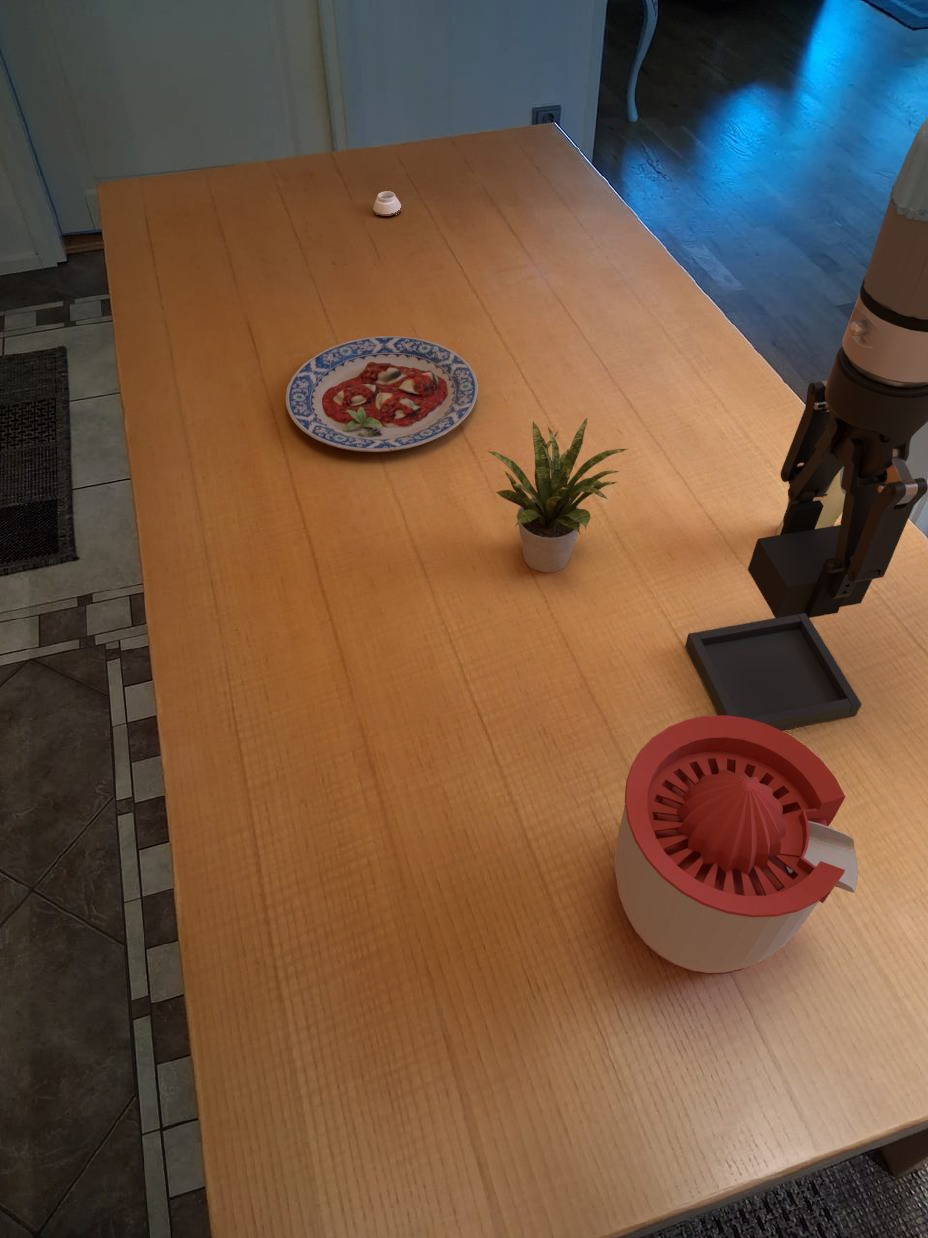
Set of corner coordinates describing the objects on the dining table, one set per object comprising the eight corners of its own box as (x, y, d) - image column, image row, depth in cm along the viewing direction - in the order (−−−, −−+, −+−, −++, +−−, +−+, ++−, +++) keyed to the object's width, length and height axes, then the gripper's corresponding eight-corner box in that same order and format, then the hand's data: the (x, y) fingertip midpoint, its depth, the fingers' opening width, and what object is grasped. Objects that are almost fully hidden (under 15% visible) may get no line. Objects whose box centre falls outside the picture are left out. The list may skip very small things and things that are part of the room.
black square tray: (801, 624, 95) (806, 612, 93) (855, 716, 87) (862, 704, 86) (684, 645, 93) (688, 633, 92) (730, 740, 86) (734, 729, 84)
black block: (829, 555, 82) (842, 524, 79) (861, 603, 78) (876, 572, 75) (747, 569, 81) (757, 538, 78) (775, 618, 77) (787, 587, 74)
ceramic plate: (367, 330, 133) (365, 312, 131) (514, 385, 124) (514, 366, 121) (248, 419, 120) (243, 401, 118) (402, 489, 110) (400, 471, 108)
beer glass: (757, 538, 103) (790, 434, 92) (796, 512, 106) (833, 408, 95) (805, 573, 100) (846, 468, 88) (845, 545, 102) (890, 440, 91)
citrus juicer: (809, 1031, 69) (901, 932, 54) (585, 971, 72) (612, 861, 57) (815, 849, 78) (894, 721, 63) (617, 803, 82) (647, 670, 66)
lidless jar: (368, 209, 159) (381, 220, 156) (367, 192, 156) (379, 203, 154) (394, 202, 160) (406, 214, 157) (392, 186, 158) (405, 197, 155)
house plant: (646, 563, 101) (668, 449, 89) (559, 626, 95) (570, 513, 83) (556, 500, 108) (565, 386, 96) (470, 555, 103) (468, 441, 90)
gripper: (785, 294, 68) (722, 519, 85) (917, 451, 56) (812, 675, 73) (876, 282, 68) (796, 507, 86) (1027, 434, 56) (897, 659, 74)
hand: (803, 584), depth 80 cm, fingers closed on black block, 6 cm apart
